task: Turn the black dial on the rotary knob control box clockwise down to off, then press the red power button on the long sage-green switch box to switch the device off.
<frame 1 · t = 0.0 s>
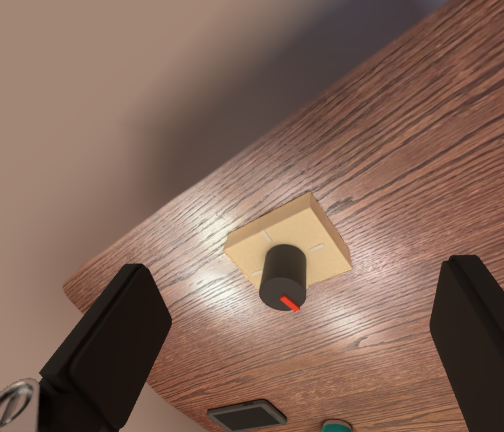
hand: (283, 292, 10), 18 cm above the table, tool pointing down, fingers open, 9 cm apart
dial: (283, 277, 27), point 5 cm above the table, hinge at 100.0°
cell phone: (246, 413, 54), on the table
beverage can: (336, 424, 51), on the table
rotary knob control box: (287, 241, 31), on the table
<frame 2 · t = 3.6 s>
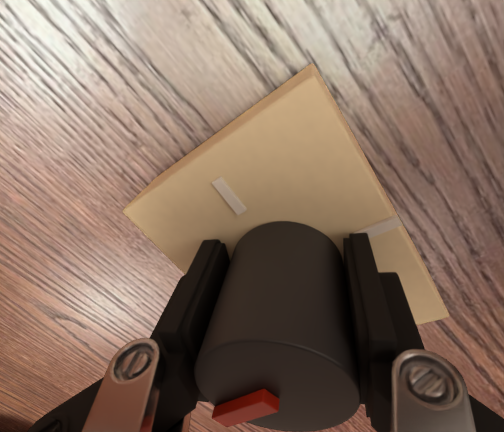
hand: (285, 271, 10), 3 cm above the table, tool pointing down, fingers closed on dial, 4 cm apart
dial: (280, 320, 9), point 5 cm above the table, hinge at 100.0°, touching gripper
rotary knob control box: (290, 220, 13), on the table
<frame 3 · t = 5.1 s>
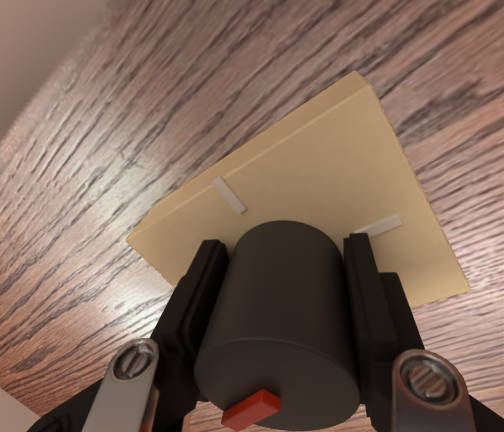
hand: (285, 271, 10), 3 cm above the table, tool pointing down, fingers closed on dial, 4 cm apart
dial: (280, 319, 9), point 5 cm above the table, hinge at 20.1°, touching gripper
rotary knob control box: (290, 219, 13), on the table
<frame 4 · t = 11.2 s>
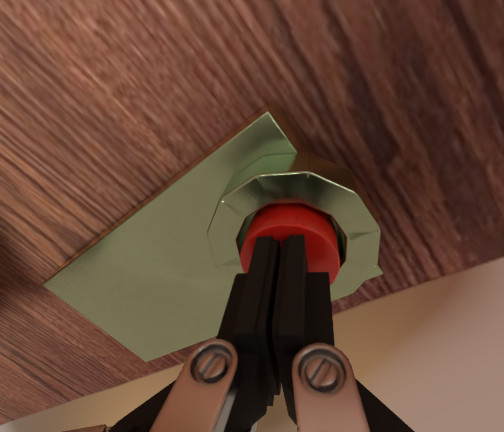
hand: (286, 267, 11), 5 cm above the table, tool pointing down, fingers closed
power button: (289, 250, 11), point 4 cm above the table, slide at -0.4 cm, touching gripper
switch box: (198, 254, 18), on the table
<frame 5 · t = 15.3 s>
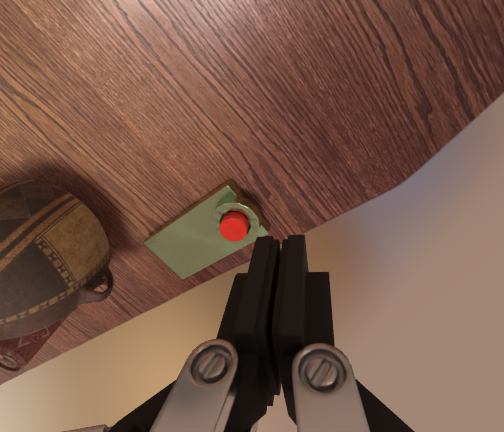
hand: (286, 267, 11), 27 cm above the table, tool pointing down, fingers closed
power button: (234, 226, 38), point 4 cm above the table, slide at 0.1 cm
vase: (75, 214, 48), on the table
switch box: (206, 229, 45), on the table
can: (61, 299, 62), on the table
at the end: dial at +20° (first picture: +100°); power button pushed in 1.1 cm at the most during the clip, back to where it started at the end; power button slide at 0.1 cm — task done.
